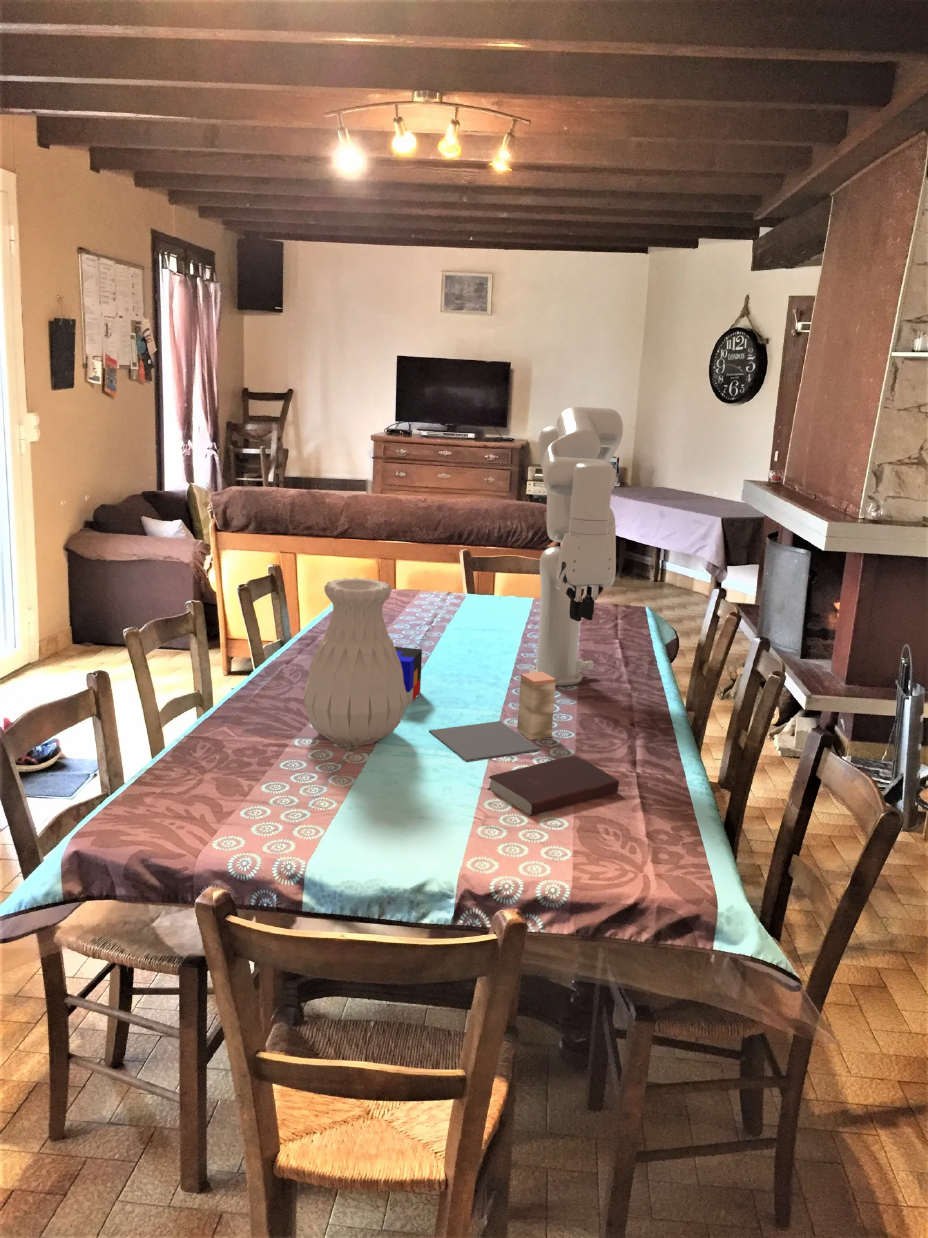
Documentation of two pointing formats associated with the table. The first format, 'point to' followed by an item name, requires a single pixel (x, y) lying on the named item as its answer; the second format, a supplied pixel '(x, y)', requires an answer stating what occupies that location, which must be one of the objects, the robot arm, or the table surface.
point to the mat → (483, 740)
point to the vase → (356, 668)
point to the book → (553, 784)
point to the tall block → (536, 705)
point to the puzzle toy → (410, 670)
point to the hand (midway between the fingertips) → (580, 618)
